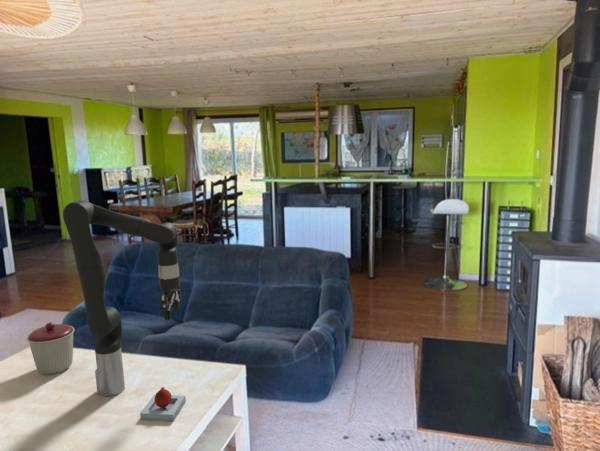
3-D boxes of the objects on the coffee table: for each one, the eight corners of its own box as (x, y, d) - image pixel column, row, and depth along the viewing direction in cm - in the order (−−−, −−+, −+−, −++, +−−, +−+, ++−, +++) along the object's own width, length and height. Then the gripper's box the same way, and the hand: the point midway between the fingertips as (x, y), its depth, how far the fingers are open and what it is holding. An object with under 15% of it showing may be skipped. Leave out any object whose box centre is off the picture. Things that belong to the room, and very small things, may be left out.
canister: (33, 364, 201) (27, 319, 197) (78, 355, 208) (73, 312, 204) (29, 383, 185) (22, 334, 181) (78, 373, 192) (72, 326, 188)
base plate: (140, 419, 159) (140, 413, 158) (154, 400, 170) (154, 394, 170) (173, 421, 157) (173, 414, 157) (185, 401, 169) (185, 395, 169)
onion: (167, 413, 160) (165, 392, 159) (152, 411, 161) (150, 391, 160) (175, 404, 166) (173, 384, 164) (160, 402, 167) (158, 382, 166)
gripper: (167, 269, 180) (170, 308, 183) (151, 280, 166) (154, 322, 169) (185, 270, 179) (188, 309, 182) (171, 281, 165) (174, 322, 168)
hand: (172, 315), depth 176 cm, fingers open, 8 cm apart
